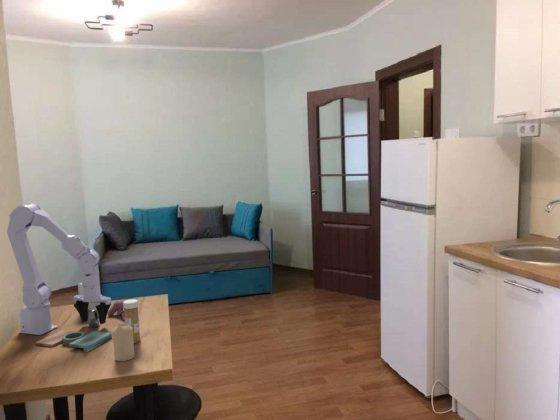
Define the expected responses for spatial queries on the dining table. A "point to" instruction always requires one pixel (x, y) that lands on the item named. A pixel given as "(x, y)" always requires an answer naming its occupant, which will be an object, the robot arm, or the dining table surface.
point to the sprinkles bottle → (132, 317)
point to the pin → (93, 318)
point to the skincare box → (91, 305)
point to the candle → (123, 342)
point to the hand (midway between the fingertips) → (93, 322)
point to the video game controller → (117, 309)
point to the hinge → (76, 339)
